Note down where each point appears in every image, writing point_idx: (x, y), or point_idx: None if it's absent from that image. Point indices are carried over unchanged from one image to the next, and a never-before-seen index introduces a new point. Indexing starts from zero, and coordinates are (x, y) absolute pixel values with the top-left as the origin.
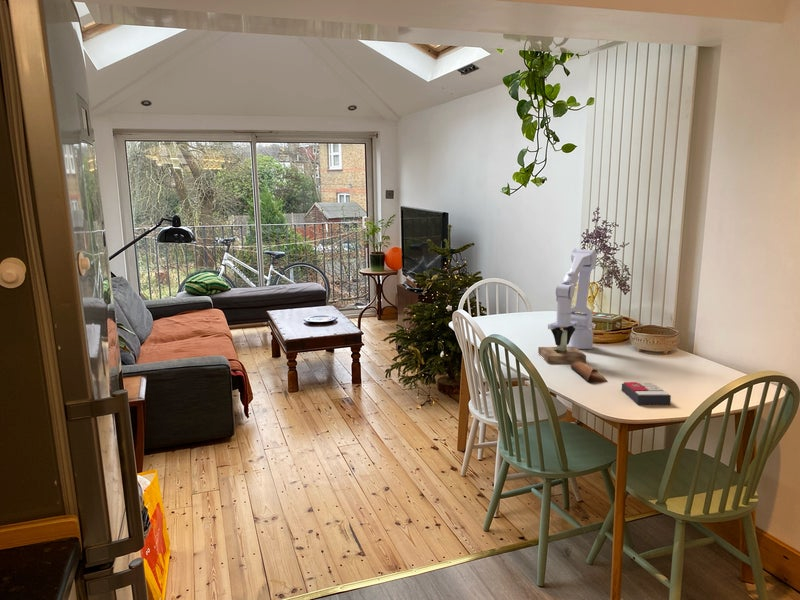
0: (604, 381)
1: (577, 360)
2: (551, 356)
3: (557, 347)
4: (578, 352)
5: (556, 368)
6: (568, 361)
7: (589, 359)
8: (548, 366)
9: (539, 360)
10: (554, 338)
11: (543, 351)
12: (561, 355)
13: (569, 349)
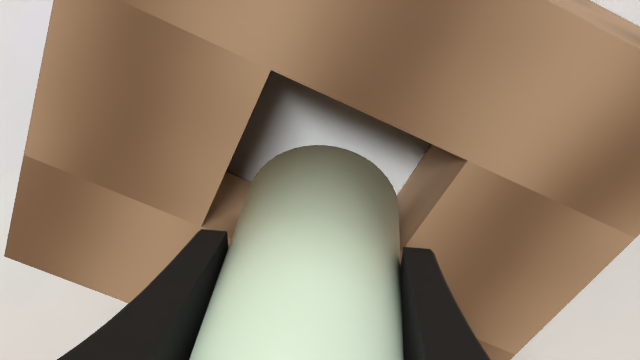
0: None
1: None
2: (52, 271)
3: (240, 214)
4: (484, 325)
5: (58, 330)
6: None
7: (584, 311)
8: (11, 267)
9: (5, 76)
10: (139, 295)
11: (50, 71)
12: None
13: (514, 184)
